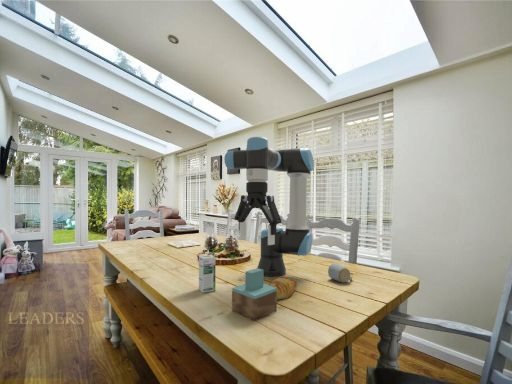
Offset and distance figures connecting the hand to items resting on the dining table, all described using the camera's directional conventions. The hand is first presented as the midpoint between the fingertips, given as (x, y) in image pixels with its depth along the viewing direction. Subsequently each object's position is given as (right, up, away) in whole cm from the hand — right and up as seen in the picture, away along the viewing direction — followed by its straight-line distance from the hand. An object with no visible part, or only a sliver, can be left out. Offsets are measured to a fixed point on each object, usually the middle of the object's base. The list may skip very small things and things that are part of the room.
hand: (256, 242), depth 96 cm
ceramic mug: (+41, -25, +35) cm, 60 cm away
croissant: (+10, -25, +16) cm, 31 cm away
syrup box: (-21, -24, +20) cm, 38 cm away
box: (-1, -24, 0) cm, 24 cm away
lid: (-1, -19, 0) cm, 19 cm away
